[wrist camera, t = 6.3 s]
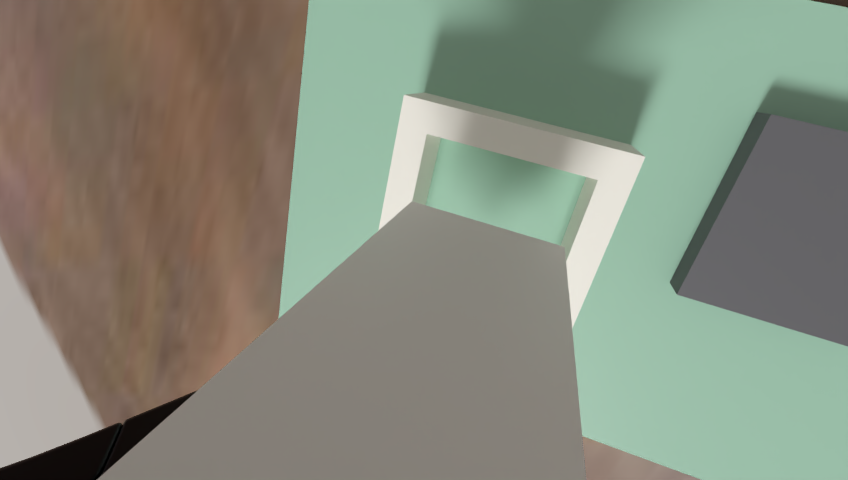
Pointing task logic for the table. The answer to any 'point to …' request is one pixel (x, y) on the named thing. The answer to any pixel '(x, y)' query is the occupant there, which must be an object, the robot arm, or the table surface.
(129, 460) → the plug
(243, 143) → the table surface
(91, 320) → the table surface
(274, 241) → the table surface
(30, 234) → the table surface
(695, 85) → the board
